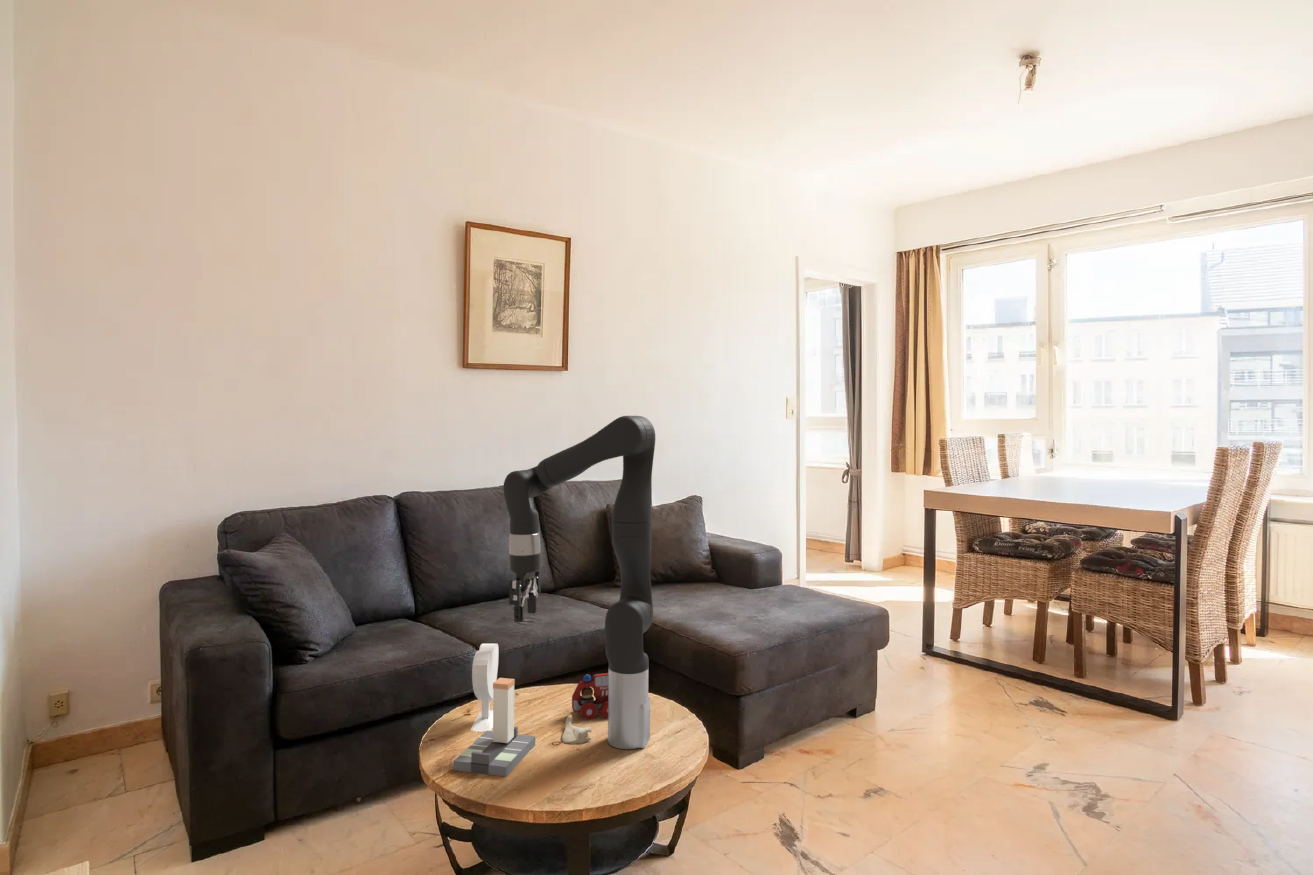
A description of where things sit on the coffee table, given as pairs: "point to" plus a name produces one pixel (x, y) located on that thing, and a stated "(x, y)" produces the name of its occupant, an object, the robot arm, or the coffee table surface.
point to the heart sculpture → (484, 683)
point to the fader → (503, 710)
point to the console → (494, 754)
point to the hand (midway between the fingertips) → (525, 617)
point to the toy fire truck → (587, 700)
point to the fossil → (575, 733)
